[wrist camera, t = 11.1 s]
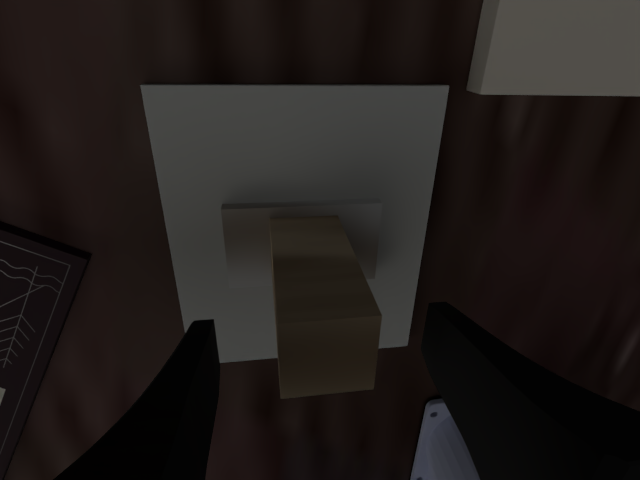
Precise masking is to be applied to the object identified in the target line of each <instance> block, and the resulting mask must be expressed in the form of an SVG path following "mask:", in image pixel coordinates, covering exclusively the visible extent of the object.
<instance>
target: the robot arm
mask: <svg viewBox="0 0 640 480" xmlns="http://www.w3.org/2000/svg"><path fill="white" fill-rule="evenodd" d="M421 351H422V353H423V356H424V359H425V362H426V365H427V368H428V370H429V373H430V375H431V377H432V379H433V382H434V383H435V385H436V387H437V389H438V391H439V393H440V395H441V397H442V399H434V400H431V401H429V402H428V403H427V404H426V407H425V412H424V416H423V421H422V426H421V431H420V435H419V440H418V445H417V450H416V455H415V459H414V464H413V469H412V474H411V478H410V480H640V412H639V411H637V410H634V409H632V408H629V407H627V406H624V405H622V404H619V403H617V402H614V401H612V400H609V399H607V398H605V397H602V396H600V395H598V394H595V393H593V392H591V391H589V390H587V389H585V388H582V387H580V386H578V385H576V384H574V383H572V382H570V381H568V380H566V379H564V378H562V377H560V376H558V375H556V374H554V373H553V372H551V371H549V370H547V369H545V368H544V367H542V366H540V365H538V364H536V363H535V362H533V361H531V360H530V359H528V358H526V357H525V356H523V355H522V354H520V353H519V352H517V351H515V350H514V349H512V348H511V347H509V346H508V345H506V344H505V343H503V342H502V341H500V340H499V339H497V338H496V337H494V336H493V335H492V334H490V333H489V332H487V331H486V330H485V329H483V328H482V327H480V326H479V325H478V324H476V323H475V322H474V321H472V320H471V319H469V318H468V317H467V316H465V315H464V314H463V313H461V312H460V311H459V310H457V309H456V308H454V307H453V306H451V305H450V304H448V303H447V302H436V303H429V306H428V311H427V317H426V322H425V328H424V333H423V339H422V344H421ZM219 380H220V362H219V354H218V347H217V339H216V332H215V324H214V319H208V320H194V321H193V322H192V323H191V325H190V326H189V328H188V330H187V331H186V333H185V335H184V336H183V338H182V340H181V341H180V343H179V344H178V346H177V348H176V349H175V351H174V352H173V354H172V355H171V356H170V358H169V359H168V361H167V362H166V364H165V365H164V366H163V368H162V369H161V371H160V372H159V373H158V375H157V376H156V377H155V378H154V380H153V381H152V382H151V384H150V385H149V386H148V387H147V389H146V390H145V391H144V392H143V394H142V395H141V396H140V397H139V398H138V400H137V401H136V402H135V403H134V404H133V405H132V406H131V408H130V409H129V410H128V411H127V412H126V413H125V414H124V415H123V416H122V417H121V418H120V419H119V420H118V422H117V423H116V424H115V425H114V426H113V427H112V428H110V429H109V430H108V431H107V432H106V433H105V434H104V435H103V436H102V437H101V438H100V439H99V440H98V441H97V442H96V443H95V444H94V445H93V446H92V447H91V448H90V449H89V450H88V451H86V452H85V453H84V454H83V455H82V456H81V457H79V458H78V459H77V460H76V461H75V462H74V463H72V464H71V465H70V466H69V467H68V468H67V469H65V470H64V471H63V472H62V473H61V474H59V475H58V476H57V477H56V478H55V479H53V480H205V475H206V468H207V461H208V456H209V450H210V444H211V438H212V432H213V427H214V421H215V415H216V409H217V403H218V397H219Z"/></svg>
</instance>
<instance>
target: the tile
mask: <svg viewBox="0 0 640 480" xmlns="http://www.w3.org/2000/svg"><path fill="white" fill-rule="evenodd" d="M466 90H467V91H471V92H474V93H477V94H493V95H578V96H640V0H483V5H482V11H481V16H480V21H479V26H478V31H477V37H476V42H475V47H474V52H473V58H472V63H471V68H470V73H469V79H468V84H467V89H466Z"/></svg>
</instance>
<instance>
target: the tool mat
mask: <svg viewBox="0 0 640 480" xmlns="http://www.w3.org/2000/svg"><path fill="white" fill-rule="evenodd" d="M140 86H141V92H142V97H143V103H144V108H145V114H146V119H147V125H148V130H149V136H150V141H151V147H152V152H153V158H154V163H155V169H156V174H157V180H158V186H159V191H160V197H161V202H162V208H163V213H164V219H165V224H166V230H167V235H168V241H169V246H170V252H171V257H172V263H173V268H174V274H175V279H176V285H177V290H178V296H179V301H180V307H181V313H182V318H183V324H184V329H185V333H186V331H187V330H188V328H189V326H190V325H191V323H192V322H193V321H194V320H208V319H214V324H215V332H216V339H217V347H218V354H219V362H220V363H224V362H235V361H246V360H257V359H268V358H278V354H277V340H276V326H275V312H274V298H273V286H259V287H244V288H229V281H228V272H227V263H226V253H225V244H224V234H223V225H222V216H221V206H222V204H238V203H265V202H291V201H318V200H344V199H371V198H379V199H380V201H381V202H382V213H381V223H380V233H379V243H378V253H377V263H376V273H375V279H366V280H367V283H368V285H369V287H370V289H371V292H372V294H373V296H374V298H375V301H376V303H377V305H378V307H379V310H380V312H381V314H382V321H381V330H380V339H379V347H378V348H389V347H400V346H407V345H408V339H409V332H410V326H411V320H412V314H413V308H414V301H415V295H416V289H417V283H418V277H419V270H420V264H421V258H422V252H423V246H424V239H425V233H426V227H427V221H428V215H429V208H430V202H431V196H432V190H433V184H434V178H435V171H436V165H437V159H438V153H439V147H440V140H441V134H442V128H443V122H444V116H445V109H446V103H447V97H448V91H449V86H448V85H376V84H142V85H140Z"/></svg>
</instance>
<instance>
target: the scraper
mask: <svg viewBox="0 0 640 480" xmlns="http://www.w3.org/2000/svg"><path fill="white" fill-rule="evenodd" d="M381 213H382V202H381V201H380V199H379V198H371V199H344V200H318V201H291V202H265V203H238V204H222V206H221V216H222V225H223V234H224V244H225V253H226V263H227V272H228V281H229V288H244V287H259V286H273V298H274V312H275V326H276V340H277V354H278V368H279V382H280V396H281V399H285V398H294V397H304V396H313V395H323V394H332V393H342V392H351V391H361V390H370V389H374V381H375V373H376V364H377V356H378V347H379V339H380V330H381V321H382V314H381V312H380V310H379V307H378V305H377V303H376V301H375V298H374V296H373V294H372V292H371V289H370V287H369V285H368V283H367V280H366V279H375V273H376V263H377V253H378V243H379V233H380V223H381Z"/></svg>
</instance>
